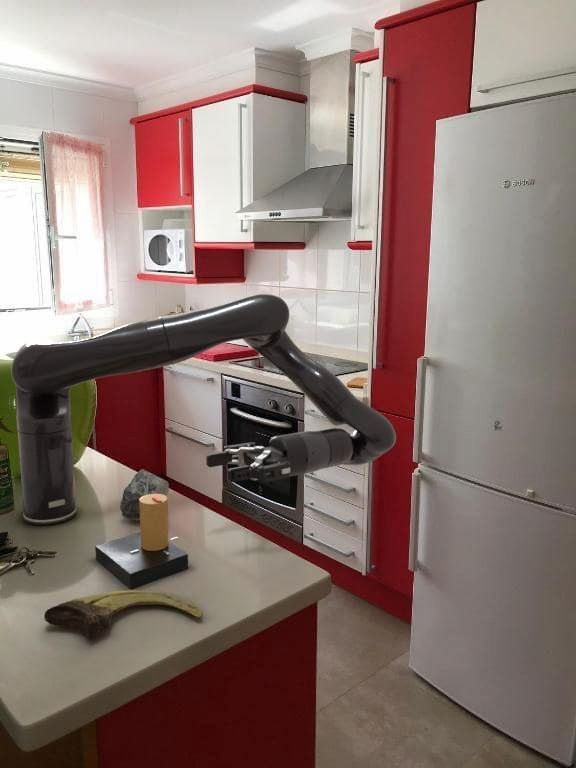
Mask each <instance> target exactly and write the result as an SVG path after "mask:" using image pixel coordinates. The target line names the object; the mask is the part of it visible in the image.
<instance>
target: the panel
mask: <svg viewBox="0 0 576 768" xmlns="http://www.w3.org/2000/svg"><path fill="white" fill-rule="evenodd" d="M178 539H179V537H178V536H175V537H172V538H170V539H169V544H168V546H167V547H166V548H164V549H162V550H158V551H147V550H144V549H143V548H142V547H141V531H139V532H136V533H133V534H129V535H126V536H122V537H119V538H117V539H114V540H110V541H106V542H103V543H99V544H96V545H95V546H94V547H95V548H94V549H95V551H94V552H95V561H97V562H98V563H99V564H100V565H102V566H103V567H104V568H105V569H106V570H107V571H109V572H110V573H111V574H112V575H113V576H114V577H115V578H117V580H119V581H120V582H122V584H124V585H125V586H126V587H127V588H128V589H130V590H134V589H136V588H138V587H141V586H144V585H146V584H150V583H153V582H155V581H158V580H160V579H163V578H166V577H168V576H171V575H174V574H177V573H179V572H182V571H185V570H188V569H189V553H187V552H185V551H184V550H182V549H181V548H180V547H178V546H177V545H175V544H173V543H172V542H171V541H174V540H178Z"/></svg>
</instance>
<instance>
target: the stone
mask: <svg viewBox="0 0 576 768" xmlns="http://www.w3.org/2000/svg"><path fill="white" fill-rule="evenodd" d="M169 485H170V484H169V482H168V480H165V479H164V478H161V477H159V476H157V475H155V474H153V473H151V472H149V471H147V470H146V469H143V468H141V469H139V471H138V472H137V473H136V474H135V475H134V476H133V478H132V480H131V481H130V483H128V485H127V486H126V487H125V488H124V489H123V493H122V498H121V500H120V505H119V509H120V511H121V512H122V513H121V516H122V517H124V519H128V520H132V521H140V503H139V500H140V498H141V497H142V496H145V495H148V494H163V495H165V496H167V497H168V494H169V491H170V486H169Z"/></svg>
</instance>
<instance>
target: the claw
mask: <svg viewBox="0 0 576 768" xmlns="http://www.w3.org/2000/svg"><path fill="white" fill-rule="evenodd" d="M140 605H164V606H169V607H173V608H174V609H175V608H176V609H179V610H181V611H183V612H186V613H187V614H190V615H192V616H194V617H196V618H198V619H201V618H203V617H204V614H203V612H202V611H201V609H200V608H199V607H198V606H197V605H196V604H194V603H193V602H191V601H190V600H189V599H187V598H185V597H182V596H178V595H177V594H172V593H169V592H165V591H157V590H139V589H130V590H117V591H108V592H100V593H95V594H92V595H87V596H82V597H78V598H74V599H71V600H67V601H64V602H62V603H59V604H57V605H55V606H52V607H49V608H48V609H47V610H46V611H45V612H44V618H43V619H44V621H45V622H46V623H48V624H49V625H52V626H56V627H61V628H62V627H63V628H68V629H74V630H77V631H79V632H81V633H83V634H84V635H86V636H87V639H88V640H94V639H96V637H97V635H98V634H99V632H105V631H107V630H109V628H110V626H111V621H112V615H115V613H118V612H120V611H122V610H124V609H126V608H128V607H132V606H140Z"/></svg>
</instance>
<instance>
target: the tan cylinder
mask: <svg viewBox="0 0 576 768" xmlns="http://www.w3.org/2000/svg"><path fill="white" fill-rule="evenodd" d="M139 503H140V520H139V522H140V523H139V525H140V526H139V527H140V528H139V529H140V531H139V532H141V547H142V548H143V549H144V550H147V551H158V550H162V549H164V548H166V547H167V546H168V544H169V542H170V539H169V505H168V504H169V502H168V495H167V496H165V495H163V494H148V495H145V496H142V497H141V498H140V500H139Z"/></svg>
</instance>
